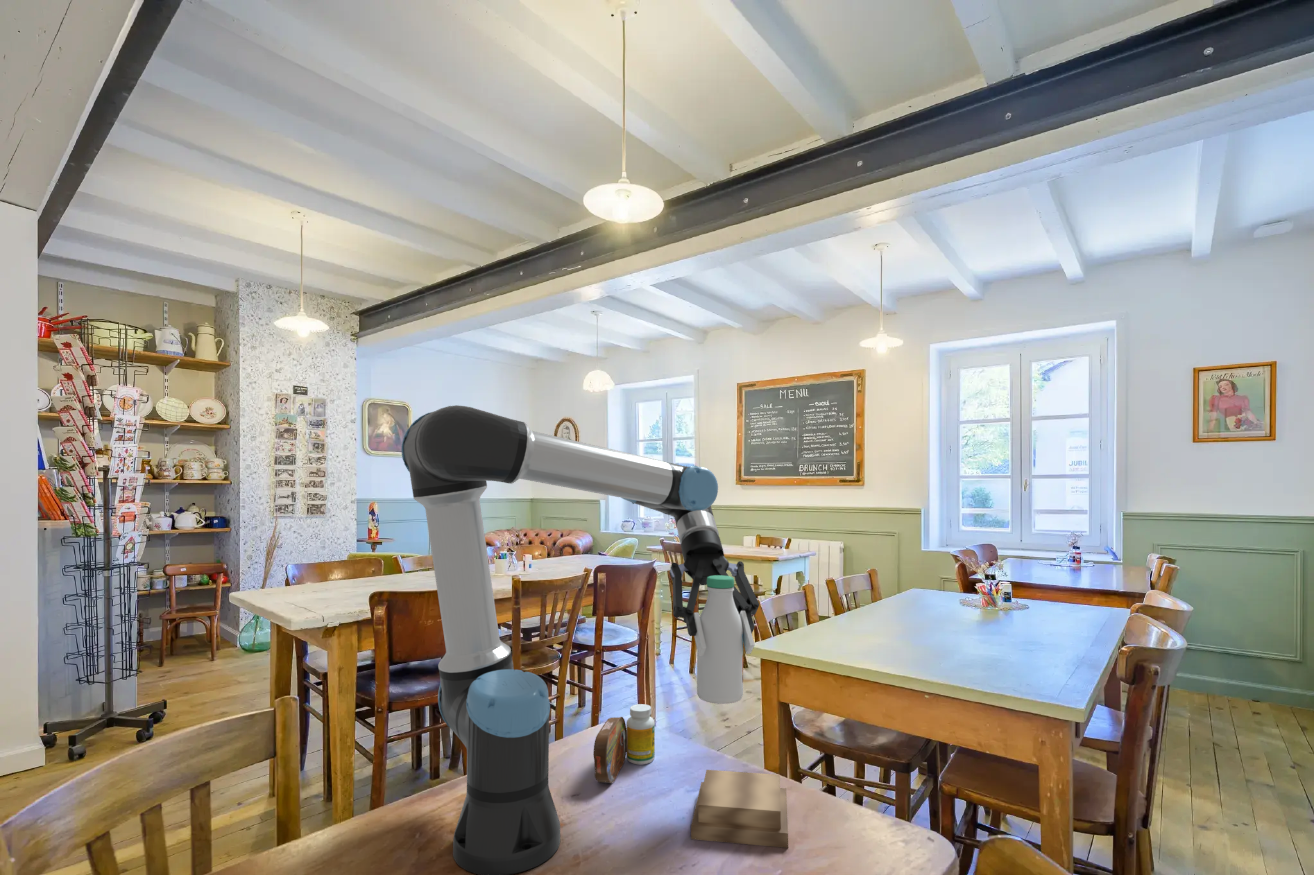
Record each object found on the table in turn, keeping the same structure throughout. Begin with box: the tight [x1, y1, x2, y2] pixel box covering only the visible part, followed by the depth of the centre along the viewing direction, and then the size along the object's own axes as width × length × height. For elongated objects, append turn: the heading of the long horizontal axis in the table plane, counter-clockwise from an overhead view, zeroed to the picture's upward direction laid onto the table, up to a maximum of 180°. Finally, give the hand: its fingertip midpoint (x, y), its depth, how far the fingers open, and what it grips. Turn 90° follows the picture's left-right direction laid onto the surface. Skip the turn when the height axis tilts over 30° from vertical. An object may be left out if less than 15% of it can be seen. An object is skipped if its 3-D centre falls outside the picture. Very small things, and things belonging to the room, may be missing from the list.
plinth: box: [690, 769, 789, 849], centre depth 102 cm, size 14×14×4 cm
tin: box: [593, 716, 627, 784], centre depth 119 cm, size 15×3×8 cm, turn 169°
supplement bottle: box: [625, 703, 656, 765], centre depth 125 cm, size 5×5×10 cm
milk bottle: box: [696, 575, 744, 705], centre depth 111 cm, size 8×8×20 cm
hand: (726, 650), depth 107 cm, fingers closed on milk bottle, 7 cm apart
